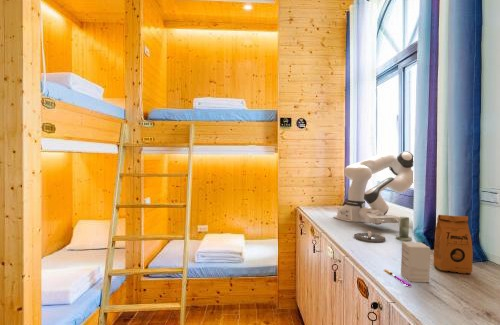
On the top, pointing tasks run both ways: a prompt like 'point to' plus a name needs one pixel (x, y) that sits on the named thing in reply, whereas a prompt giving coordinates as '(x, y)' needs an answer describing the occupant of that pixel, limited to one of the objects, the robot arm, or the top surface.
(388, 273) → the purple screwdriver
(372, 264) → the top surface
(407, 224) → the green cylinder with base
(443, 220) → the coffee package
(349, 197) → the robot arm
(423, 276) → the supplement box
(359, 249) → the top surface
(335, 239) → the top surface
